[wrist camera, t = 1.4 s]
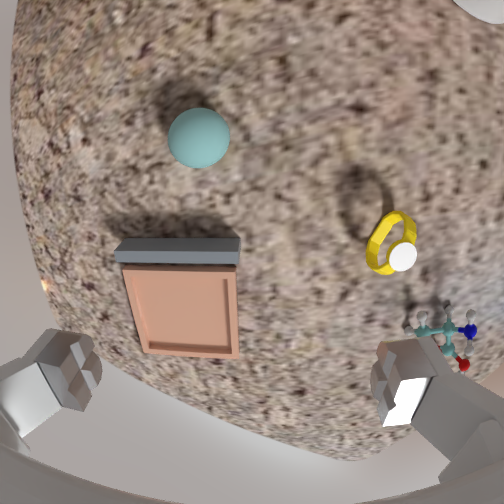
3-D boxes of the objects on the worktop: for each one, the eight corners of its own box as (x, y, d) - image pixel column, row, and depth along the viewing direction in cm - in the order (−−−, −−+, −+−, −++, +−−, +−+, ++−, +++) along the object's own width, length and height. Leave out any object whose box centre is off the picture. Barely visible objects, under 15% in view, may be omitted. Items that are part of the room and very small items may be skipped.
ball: (175, 109, 25) (157, 110, 20) (232, 106, 25) (225, 106, 20) (178, 163, 27) (161, 175, 23) (233, 161, 27) (226, 173, 22)
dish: (126, 264, 32) (122, 269, 31) (236, 266, 32) (235, 272, 30) (146, 346, 37) (144, 352, 36) (239, 352, 37) (239, 358, 36)
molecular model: (380, 371, 33) (445, 398, 24) (398, 295, 34) (469, 307, 25) (428, 367, 38) (483, 385, 29) (443, 304, 39) (501, 313, 29)
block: (125, 238, 31) (113, 250, 28) (240, 238, 30) (238, 251, 27) (127, 248, 31) (116, 261, 28) (240, 249, 31) (238, 263, 28)
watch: (384, 200, 28) (411, 217, 23) (404, 213, 29) (433, 233, 23) (353, 251, 30) (373, 278, 25) (374, 262, 31) (396, 290, 25)
